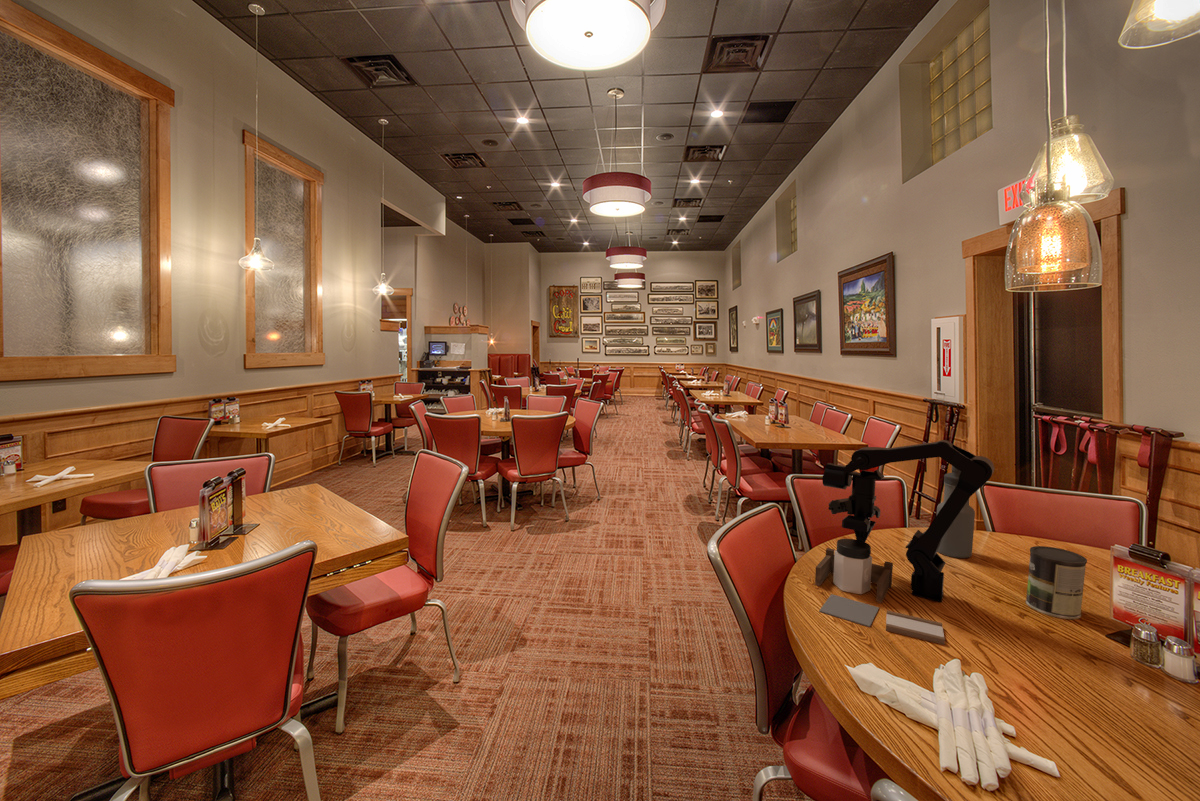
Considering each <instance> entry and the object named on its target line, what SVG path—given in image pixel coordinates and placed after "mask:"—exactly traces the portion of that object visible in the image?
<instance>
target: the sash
mask: <svg viewBox="0 0 1200 801" xmlns="http://www.w3.org/2000/svg"><path fill="white" fill-rule="evenodd" d="M885 619H886V621H885V631H887V632H890V633H895V634H898V635H902V636H907V637H910V638H914V639H919V640H924V641H926V642H931V643H935V644H939V645H943V646H946V644H945V643H946V637H945V635H944V628H943V622H940V621H935V620H931V619H928V618H922V617H918V616H914V615H910V614H906V613H905V614H904V613H900V612H895V611H891V610H888V609H887V610H886V618H885Z"/></svg>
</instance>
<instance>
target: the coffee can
mask: <svg viewBox="0 0 1200 801" xmlns="http://www.w3.org/2000/svg"><path fill="white" fill-rule="evenodd" d="M1029 552H1030V554H1029V565H1028V576H1027V577H1028V578H1027V590H1026V599H1025V603H1026V606H1028V607H1029V608H1031V609H1032V610H1034V611H1036V612H1039V613H1041V614H1043V615H1047V616H1049V617H1055V618H1058V619H1065V620H1078V619H1080V618H1081V617H1082V607H1083V606H1082V604H1083V596H1084V588H1085V587H1084V586H1085V575H1086V566H1087V562H1088V559H1087V558H1086V557H1084V556H1083V555H1081V554H1079V553H1076V552H1074V551H1070V550H1069V549H1068V550H1067V549H1063V548H1058V547H1053V546H1043V545H1035V546H1031V547H1030V548H1029Z"/></svg>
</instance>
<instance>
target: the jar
mask: <svg viewBox="0 0 1200 801" xmlns="http://www.w3.org/2000/svg"><path fill="white" fill-rule="evenodd" d="M871 547H872V546H871V545H870V544H869V543H867V542H866V541H865V542H863V541H860V540H856V538H855V539H854V538H840V539H837V541H836V549H834V555H835V556H834V573H833V577H832V578H833V579H832V581H833V582H832V583H833V585H835V586H836V587H837V588H838V589H839V590H840V591H842V592H845V593H851V594H857V595H862V594H865V593H867V592H869V591H871V586H872V583H871V569H872V564H873V556H872V555H871V554H872V548H871Z"/></svg>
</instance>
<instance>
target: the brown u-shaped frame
mask: <svg viewBox="0 0 1200 801" xmlns="http://www.w3.org/2000/svg"><path fill="white" fill-rule="evenodd" d="M834 556H835V548H834V549H833V548H829V547H827V548H826V549H825V556H824V557H823V558H822V560H820V561H819V562H818V564H817V565H816V566H815V575H814V576H815V577H814V578H815V579H814V581H815V582H814V585H815V586H818V587H821V585H822V584H823V583H824V582H825V580H826V579H827V578H828V577H829V575H830V574H834ZM893 567H894V562H890V561H884V563H883V565H880V564H876V563H872V569H871V582H872V583H871V584H874V583H876V597H875V598H876V600H875V602H876V603H880V604H883V602H884V599H885V597H886V595H887V593H888V591H889V589H890V588H891V589H892V586H893V585H892V583H893ZM830 572H831V573H830ZM826 577H827V578H826Z"/></svg>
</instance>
